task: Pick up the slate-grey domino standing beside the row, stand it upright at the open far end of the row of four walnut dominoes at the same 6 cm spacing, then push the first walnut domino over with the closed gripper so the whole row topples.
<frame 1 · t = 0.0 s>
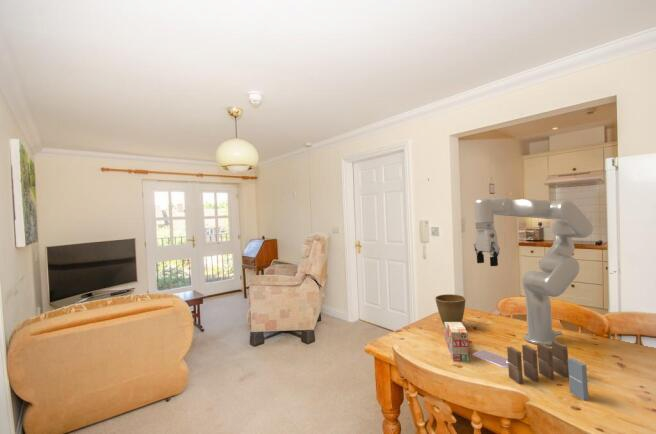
hand: (487, 264, 143), 37 cm above the table, tool pointing down, fingers open, 9 cm apart
colourful printed box: (456, 351, 140), on the table
domino 3: (531, 378, 114), on the table
domino 1: (561, 374, 116), on the table
domino 4: (515, 380, 113), on the table
plant pot: (451, 328, 168), on the table
domino 5: (578, 395, 102), on the table
domino 2: (546, 376, 115), on the table
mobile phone: (493, 360, 131), on the table
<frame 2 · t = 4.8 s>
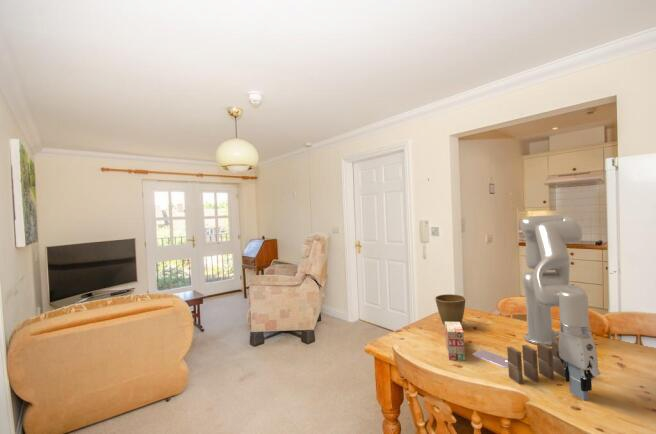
hand: (578, 385, 102), 3 cm above the table, tool pointing down, fingers closed on domino 5, 4 cm apart
domino 5: (578, 395, 102), on the table, touching gripper
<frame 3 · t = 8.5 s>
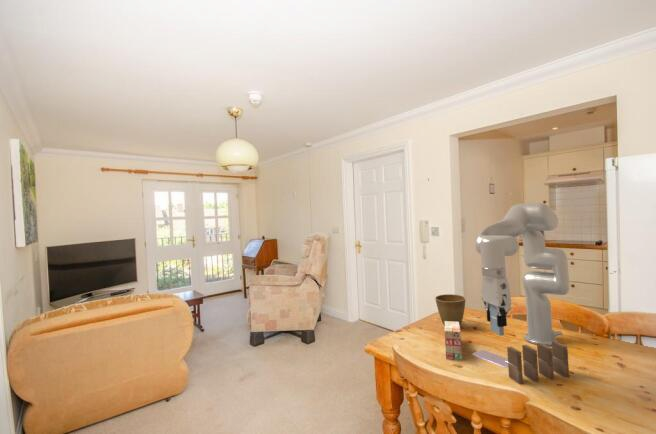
hand: (496, 323, 113), 21 cm above the table, tool pointing down, fingers closed on domino 5, 4 cm apart
domino 5: (497, 332, 113), point 18 cm above the table, touching gripper
when the fingers open (4 cm above the table, at t = 12.6 s): domino 5 stays where it is, on the table.
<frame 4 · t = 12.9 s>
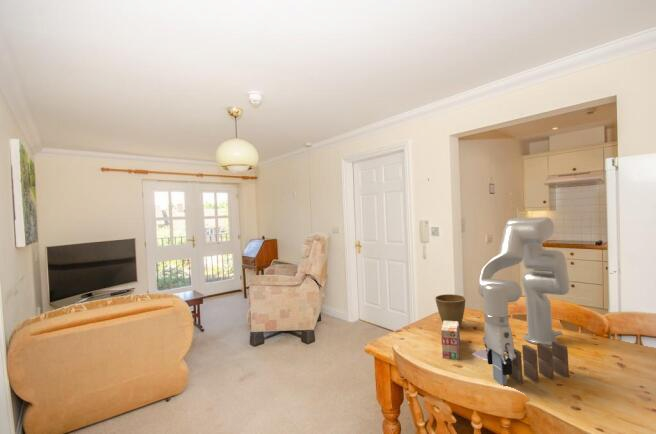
hand: (499, 368, 113), 5 cm above the table, tool pointing down, fingers open, 7 cm apart
domino 5: (500, 382, 113), on the table
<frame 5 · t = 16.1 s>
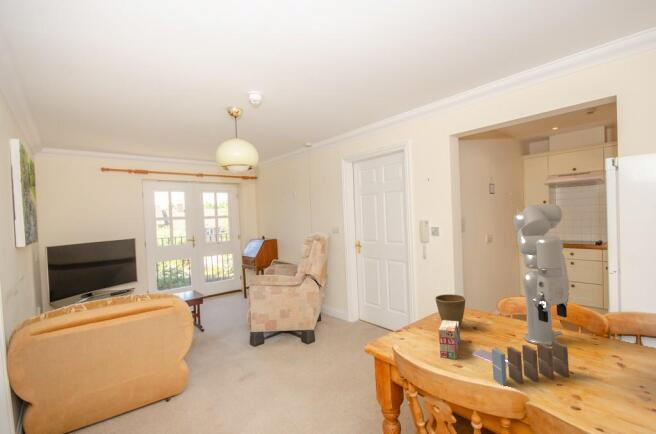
hand: (552, 318, 116), 20 cm above the table, tool pointing down, fingers open, 9 cm apart
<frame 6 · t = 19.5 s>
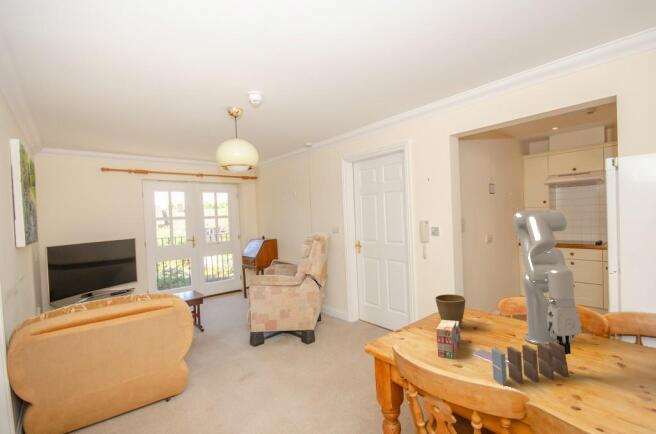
hand: (565, 352, 116), 8 cm above the table, tool pointing down, fingers closed
domino 1: (561, 373, 116), on the table, tilted 6°
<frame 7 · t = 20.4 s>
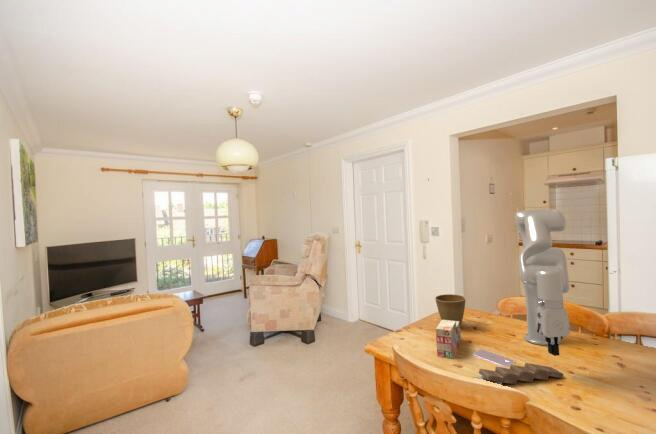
hand: (553, 353, 115), 8 cm above the table, tool pointing down, fingers closed
domino 3: (527, 376, 114), point 1 cm above the table, tilted 75°, touching domino 2, domino 4
domino 1: (556, 372, 115), point 1 cm above the table, tilted 74°, touching domino 2
domino 4: (511, 378, 113), point 1 cm above the table, tilted 74°, touching domino 3, domino 5
domino 5: (497, 380, 113), point 1 cm above the table, tilted 90°, touching domino 4
domino 2: (542, 374, 115), point 1 cm above the table, tilted 74°, touching domino 1, domino 3
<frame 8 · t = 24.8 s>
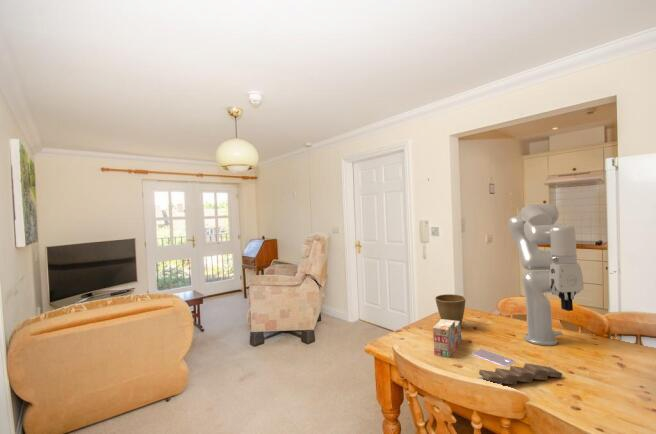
hand: (567, 309, 116), 23 cm above the table, tool pointing down, fingers closed
domino 4: (511, 379, 113), point 1 cm above the table, tilted 74°, touching domino 3, domino 5
at the end: domino 5 tilted 90°; domino 3 tilted 74°; domino 5 inside the target area (2.7 cm from its centre), point 0.6 cm above the table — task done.
